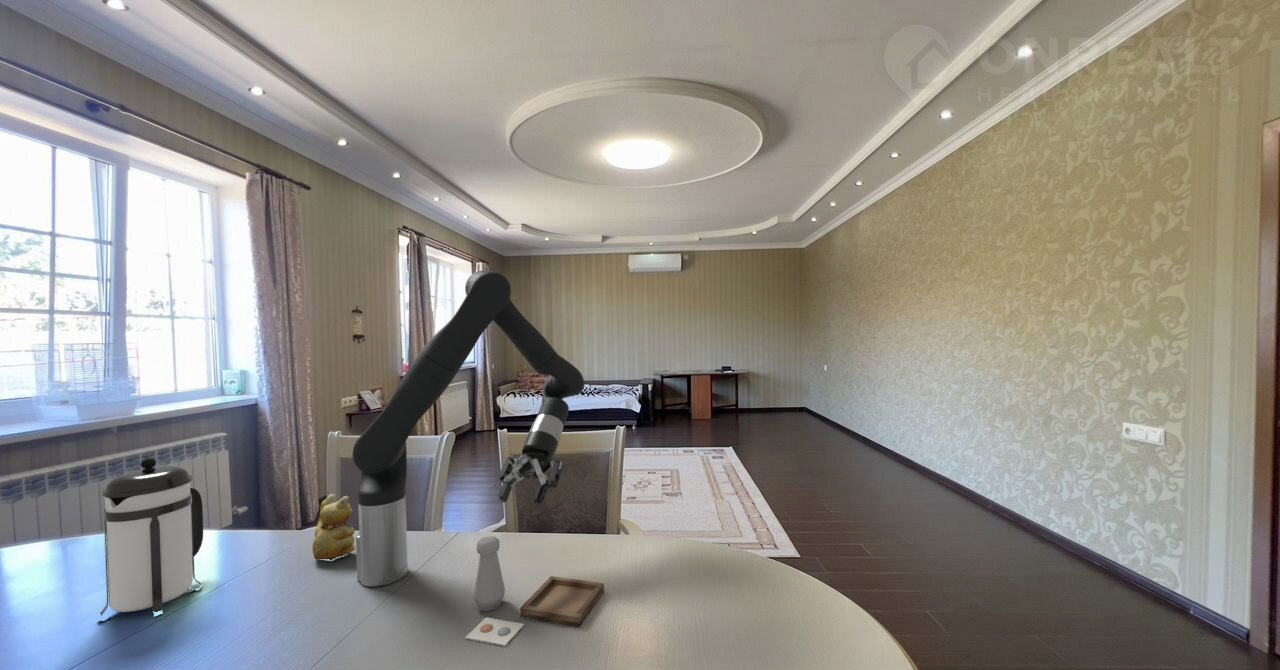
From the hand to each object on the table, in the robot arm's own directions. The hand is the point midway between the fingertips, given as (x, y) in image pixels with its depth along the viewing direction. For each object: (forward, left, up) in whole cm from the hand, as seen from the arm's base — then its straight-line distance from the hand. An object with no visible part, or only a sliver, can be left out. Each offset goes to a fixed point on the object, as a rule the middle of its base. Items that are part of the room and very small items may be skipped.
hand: (519, 502), depth 104 cm
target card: (+6, -18, -16) cm, 25 cm away
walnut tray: (+14, -7, -16) cm, 23 cm away
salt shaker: (0, -11, -16) cm, 20 cm away
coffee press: (-69, -27, -16) cm, 76 cm away
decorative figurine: (-50, -3, -16) cm, 53 cm away
